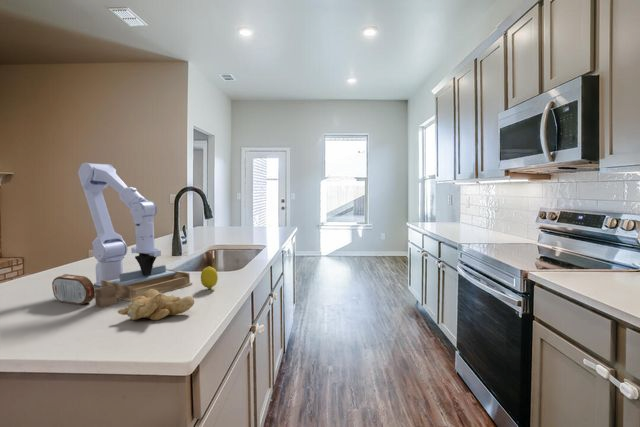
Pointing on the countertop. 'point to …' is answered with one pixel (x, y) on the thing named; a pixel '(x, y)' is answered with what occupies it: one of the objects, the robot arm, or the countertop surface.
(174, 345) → the countertop surface
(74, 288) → the tin
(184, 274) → the wooden tray
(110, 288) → the block
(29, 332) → the countertop surface
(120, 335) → the countertop surface
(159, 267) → the lid
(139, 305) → the ginger root
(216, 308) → the countertop surface
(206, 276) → the lemon
